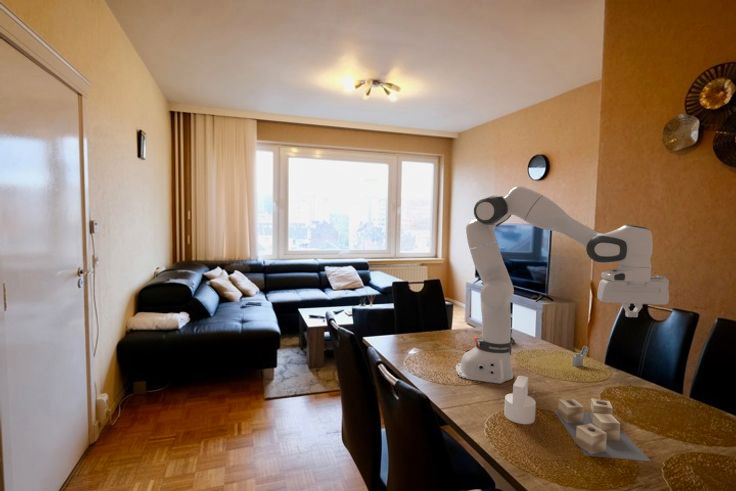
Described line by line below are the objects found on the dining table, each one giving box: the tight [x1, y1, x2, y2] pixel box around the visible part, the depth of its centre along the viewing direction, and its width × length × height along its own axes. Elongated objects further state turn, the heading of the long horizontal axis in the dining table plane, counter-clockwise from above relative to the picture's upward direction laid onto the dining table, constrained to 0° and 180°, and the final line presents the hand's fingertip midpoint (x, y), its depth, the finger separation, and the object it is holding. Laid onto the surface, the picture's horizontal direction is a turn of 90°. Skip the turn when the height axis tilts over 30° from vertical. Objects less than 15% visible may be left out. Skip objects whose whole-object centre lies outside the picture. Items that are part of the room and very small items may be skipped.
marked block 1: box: [557, 398, 585, 423], centre depth 117 cm, size 5×5×5 cm
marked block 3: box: [575, 423, 607, 454], centre depth 102 cm, size 5×5×5 cm
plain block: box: [592, 413, 621, 441], centre depth 108 cm, size 5×5×5 cm
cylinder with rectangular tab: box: [503, 375, 537, 425], centre depth 118 cm, size 9×9×12 cm
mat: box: [553, 409, 652, 462], centre depth 110 cm, size 16×24×1 cm, turn 172°
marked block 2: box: [589, 397, 614, 420], centre depth 117 cm, size 5×5×5 cm
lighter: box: [572, 345, 590, 368], centre depth 162 cm, size 7×2×8 cm, turn 109°
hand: (631, 316), depth 123 cm, fingers closed
